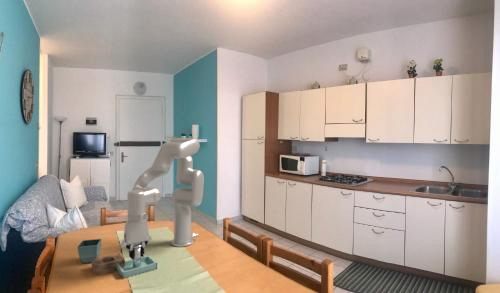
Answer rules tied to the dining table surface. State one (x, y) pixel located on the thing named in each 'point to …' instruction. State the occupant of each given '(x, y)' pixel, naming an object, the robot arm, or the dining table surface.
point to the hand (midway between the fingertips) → (136, 256)
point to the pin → (137, 255)
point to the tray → (129, 270)
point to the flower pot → (89, 250)
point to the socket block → (107, 264)
